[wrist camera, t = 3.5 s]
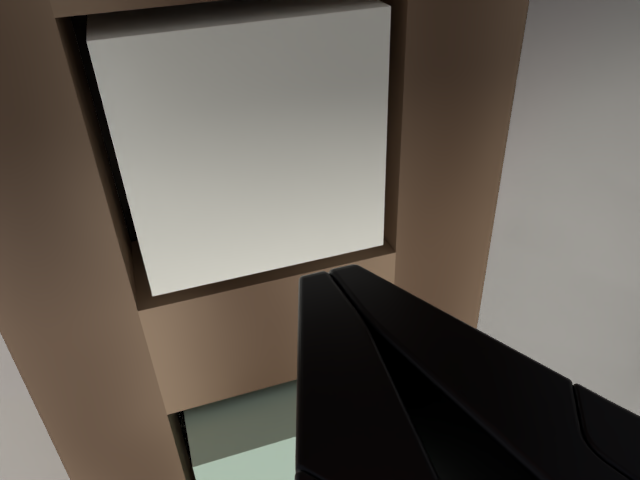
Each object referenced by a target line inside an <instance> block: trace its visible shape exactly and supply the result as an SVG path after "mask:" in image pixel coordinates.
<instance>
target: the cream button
mask: <svg viewBox="0 0 640 480" xmlns="http://www.w3.org/2000/svg"><path fill="white" fill-rule="evenodd" d="M390 23H391V6H390V5H388V4H386V3H384V2H382V1H380V0H221V1H212V2H202V3H192V4H183V5H173V6H164V7H154V8H145V9H135V10H126V11H116V12H106V13H97V14H87V40H86V41H87V45H88V49H89V53H90V57H91V61H92V65H93V68H94V72H95V76H96V80H97V84H98V88H99V92H100V95H101V99H102V103H103V107H104V111H105V115H106V119H107V122H108V126H109V130H110V134H111V138H112V142H113V146H114V149H115V153H116V157H117V161H118V165H119V169H120V173H121V176H122V180H123V184H124V188H125V192H126V196H127V200H128V203H129V207H130V211H131V215H132V219H133V223H134V227H135V230H136V234H137V238H138V242H139V246H140V250H141V254H142V257H143V261H144V265H145V269H146V273H147V277H148V281H149V284H150V288H151V292H152V296H157V295H161V294H166V293H170V292H175V291H179V290H184V289H188V288H193V287H197V286H202V285H206V284H211V283H215V282H220V281H224V280H229V279H233V278H237V277H242V276H246V275H251V274H255V273H260V272H264V271H269V270H273V269H278V268H282V267H287V266H291V265H296V264H300V263H305V262H309V261H314V260H318V259H323V258H327V257H331V256H336V255H340V254H345V253H349V252H354V251H358V250H363V249H367V248H372V247H376V246H381V245H383V236H384V206H385V175H386V145H387V114H388V84H389V53H390Z"/></svg>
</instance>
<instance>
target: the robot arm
mask: <svg viewBox="0 0 640 480" xmlns="http://www.w3.org/2000/svg"><path fill="white" fill-rule="evenodd" d="M295 472H296V474H295V480H640V416H638V415H636V414H634V413H633V412H631V411H629V410H627V409H625V408H623V407H621V406H619V405H617V404H615V403H613V402H611V401H609V400H607V399H605V398H604V397H602V396H600V395H598V394H596V393H594V392H592V391H591V390H589V389H587V388H585V387H583V386H581V385H580V384H574V385H572V381H571V380H570V379H568V378H566V377H564V376H562V375H561V374H559V373H557V372H555V371H553V370H551V369H550V368H548V367H546V366H544V365H542V364H540V363H538V362H537V361H535V360H533V359H531V358H529V357H527V356H526V355H524V354H522V353H520V352H518V351H516V350H514V349H513V348H511V347H509V346H507V345H505V344H503V343H502V342H500V341H498V340H496V339H494V338H492V337H490V336H489V335H487V334H485V333H483V332H481V331H479V330H478V329H476V328H474V327H472V326H470V325H468V324H466V323H465V322H463V321H461V320H459V319H457V318H455V317H453V316H452V315H450V314H448V313H446V312H444V311H442V310H441V309H439V308H437V307H435V306H433V305H431V304H429V303H428V302H426V301H424V300H422V299H420V298H418V297H417V296H415V295H413V294H411V293H409V292H407V291H405V290H404V289H402V288H400V287H398V286H396V285H394V284H393V283H391V282H389V281H387V280H385V279H383V278H381V277H380V276H378V275H376V274H374V273H372V272H370V271H369V270H367V269H365V268H363V267H361V266H359V265H356V264H351V265H347V266H342V267H338V268H334V269H331V270H330V271H329V272H325V271H321V272H316V273H312V274H308V275H303V276H301V277H300V278H299V284H298V339H297V394H296V449H295Z"/></svg>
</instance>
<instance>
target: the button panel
mask: <svg viewBox="0 0 640 480" xmlns="http://www.w3.org/2000/svg"><path fill="white" fill-rule="evenodd" d="M212 1H221V0H0V333H1V335H2V337H3V339H4V341H5V343H6V345H7V347H8V349H9V351H10V354H11V356H12V358H13V360H14V362H15V364H16V366H17V368H18V370H19V373H20V375H21V377H22V379H23V381H24V383H25V385H26V387H27V389H28V391H29V394H30V396H31V398H32V400H33V402H34V404H35V406H36V408H37V410H38V413H39V415H40V417H41V419H42V421H43V423H44V425H45V427H46V429H47V431H48V434H49V436H50V438H51V440H52V442H53V444H54V446H55V448H56V450H57V453H58V455H59V457H60V459H61V461H62V463H63V465H64V467H65V469H66V471H67V474H68V476H69V478H70V480H196V478H195V474H194V470H193V466H191V464H190V460H189V456H188V452H187V449H186V445H185V441H184V438H183V434H182V430H181V426H180V423H179V419H178V415H177V412H180V411H183V410H187V409H190V408H194V407H198V406H201V405H205V404H209V403H212V402H216V401H220V400H223V399H227V398H231V397H234V396H238V395H242V394H245V393H249V392H253V391H256V390H260V389H264V388H267V387H271V386H275V385H278V384H282V383H285V382H289V381H293V380H296V379H297V339H298V284H299V278H300V277H301V276H303V275H308V274H312V273H316V272H321V271H325V272H329V271H330V270H331V269H334V268H338V267H342V266H347V265H351V264H356V265H359V266H361V267H363V268H365V269H367V270H369V271H370V272H372V273H374V274H376V275H378V276H380V277H381V278H383V279H385V280H387V281H389V282H391V283H393V284H394V285H396V286H398V287H400V288H402V289H404V290H405V291H407V292H409V293H411V294H413V295H415V296H417V297H418V298H420V299H422V300H424V301H426V302H428V303H429V304H431V305H433V306H435V307H437V308H439V309H441V310H442V311H444V312H446V313H448V314H450V315H452V316H453V317H455V318H457V319H459V320H461V321H463V322H465V323H466V324H468V325H470V326H472V327H474V328H476V329H477V323H478V317H479V310H480V304H481V298H482V292H483V285H484V279H485V273H486V267H487V260H488V254H489V248H490V242H491V236H492V229H493V223H494V217H495V211H496V204H497V198H498V192H499V186H500V180H501V173H502V167H503V161H504V155H505V148H506V142H507V136H508V130H509V123H510V117H511V111H512V105H513V99H514V92H515V86H516V80H517V74H518V67H519V61H520V55H521V49H522V43H523V36H524V30H525V24H526V18H527V11H528V5H529V0H380V1H382V2H384V3H386V4H388V5H390V6H391V23H390V53H389V84H388V114H387V145H386V175H385V206H384V236H383V245H381V246H376V247H372V248H367V249H363V250H358V251H354V252H349V253H345V254H340V255H336V256H331V257H327V258H323V259H318V260H314V261H309V262H305V263H300V264H296V265H291V266H287V267H282V268H278V269H273V270H269V271H264V272H260V273H255V274H251V275H246V276H242V277H237V278H233V279H229V280H224V281H220V282H215V283H211V284H206V285H202V286H197V287H193V288H188V289H184V290H179V291H175V292H170V293H166V294H161V295H157V296H152V292H151V288H150V284H149V281H148V277H147V273H146V269H145V265H144V261H143V257H142V254H141V250H140V246H139V242H138V241H133V242H131V240H130V236H129V232H128V229H127V225H126V221H125V218H124V214H123V210H122V206H121V203H120V199H119V195H118V191H117V188H116V184H115V180H114V176H113V173H112V169H111V165H110V162H109V158H108V154H107V150H106V147H105V143H104V139H103V135H102V132H101V128H100V124H99V121H98V117H97V113H96V109H95V106H94V102H93V98H92V94H91V91H90V87H89V83H88V80H87V76H86V72H85V68H84V65H83V61H82V57H81V53H80V50H79V46H78V42H77V38H76V35H75V31H74V27H73V24H72V20H71V16H78V15H87V14H97V13H106V12H116V11H126V10H135V9H145V8H154V7H164V6H173V5H183V4H192V3H202V2H212Z"/></svg>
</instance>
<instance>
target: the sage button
mask: <svg viewBox="0 0 640 480" xmlns="http://www.w3.org/2000/svg"><path fill="white" fill-rule="evenodd" d="M296 394H297V379H296V380H293V381H289V382H285V383H282V384H278V385H275V386H271V387H267V388H264V389H260V390H256V391H253V392H249V393H245V394H242V395H238V396H234V397H231V398H227V399H223V400H220V401H216V402H212V403H209V404H205V405H201V406H198V407H194V408H190V409H187V410H183V411H184V417H185V423H186V429H187V436H188V442H189V448H190V454H191V460H192V466H193V470H194V474H195V478H196V480H295V474H296V472H295V449H296Z"/></svg>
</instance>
